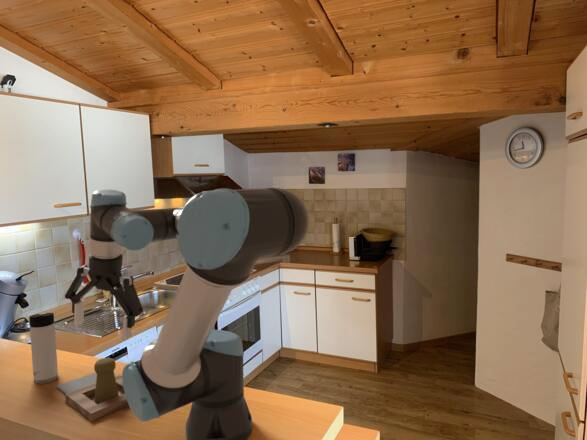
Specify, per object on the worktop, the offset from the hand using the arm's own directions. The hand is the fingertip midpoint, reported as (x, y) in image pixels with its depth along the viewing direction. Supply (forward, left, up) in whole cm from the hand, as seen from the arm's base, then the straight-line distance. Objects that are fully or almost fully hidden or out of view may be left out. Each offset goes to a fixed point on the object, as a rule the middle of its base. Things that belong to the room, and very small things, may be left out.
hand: (102, 331), depth 111 cm
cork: (+3, -1, -20) cm, 20 cm away
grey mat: (+16, -2, -20) cm, 26 cm away
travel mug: (+29, +5, -20) cm, 35 cm away
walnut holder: (+3, -1, -20) cm, 20 cm away
